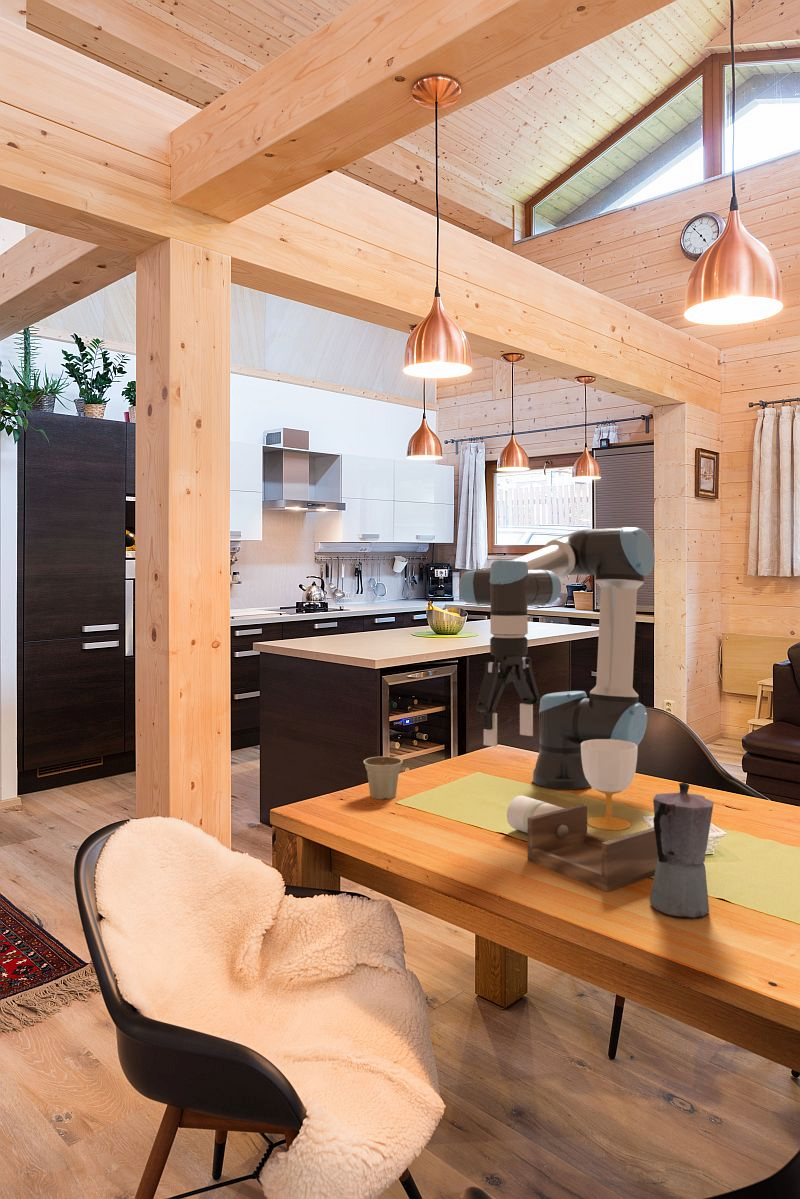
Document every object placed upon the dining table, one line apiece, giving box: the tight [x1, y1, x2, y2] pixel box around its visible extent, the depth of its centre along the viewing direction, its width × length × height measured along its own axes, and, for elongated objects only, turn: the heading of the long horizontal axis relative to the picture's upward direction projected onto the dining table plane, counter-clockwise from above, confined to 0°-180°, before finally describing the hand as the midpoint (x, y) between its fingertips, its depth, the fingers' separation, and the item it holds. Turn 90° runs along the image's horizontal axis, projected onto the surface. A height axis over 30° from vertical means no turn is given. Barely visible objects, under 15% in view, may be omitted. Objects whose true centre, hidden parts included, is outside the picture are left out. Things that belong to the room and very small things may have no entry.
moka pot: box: [649, 782, 714, 918], centre depth 129 cm, size 10×15×20 cm, turn 138°
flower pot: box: [363, 756, 403, 800], centre depth 197 cm, size 9×9×9 cm
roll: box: [506, 794, 565, 834], centre depth 166 cm, size 12×7×7 cm, turn 36°
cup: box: [581, 739, 639, 832], centre depth 174 cm, size 12×12×17 cm
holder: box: [527, 803, 658, 892], centre depth 149 cm, size 19×15×8 cm
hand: (508, 740), depth 166 cm, fingers open, 13 cm apart
